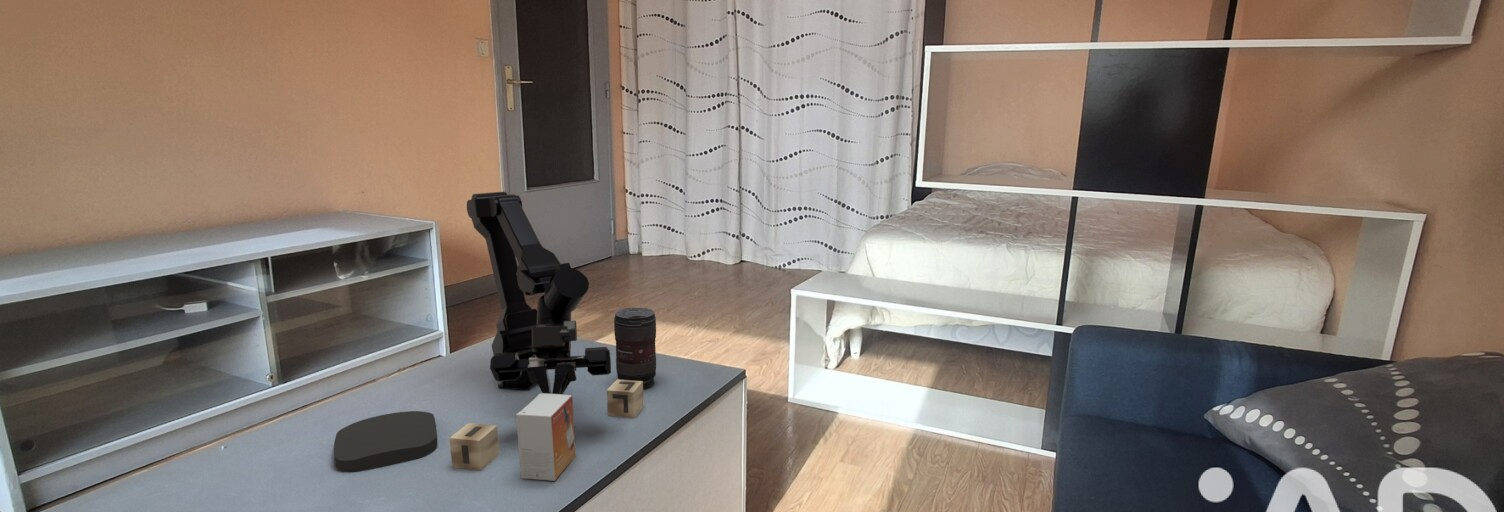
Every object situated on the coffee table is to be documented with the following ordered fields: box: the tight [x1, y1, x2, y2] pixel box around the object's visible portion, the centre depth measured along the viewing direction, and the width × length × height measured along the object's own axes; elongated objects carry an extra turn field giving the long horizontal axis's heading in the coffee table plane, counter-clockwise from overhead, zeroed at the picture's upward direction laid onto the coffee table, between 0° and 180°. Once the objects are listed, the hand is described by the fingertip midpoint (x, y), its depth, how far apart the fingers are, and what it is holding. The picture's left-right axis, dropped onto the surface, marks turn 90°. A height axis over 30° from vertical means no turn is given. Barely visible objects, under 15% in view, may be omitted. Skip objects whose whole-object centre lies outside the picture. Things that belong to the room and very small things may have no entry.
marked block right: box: [606, 378, 645, 419], centre depth 124 cm, size 5×5×5 cm
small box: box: [515, 392, 576, 482], centre depth 104 cm, size 8×6×10 cm
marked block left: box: [448, 422, 500, 471], centre depth 106 cm, size 5×5×5 cm
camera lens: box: [613, 307, 657, 390], centre depth 135 cm, size 8×8×15 cm
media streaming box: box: [333, 410, 439, 473], centre depth 111 cm, size 15×15×3 cm
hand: (551, 413), depth 108 cm, fingers closed
